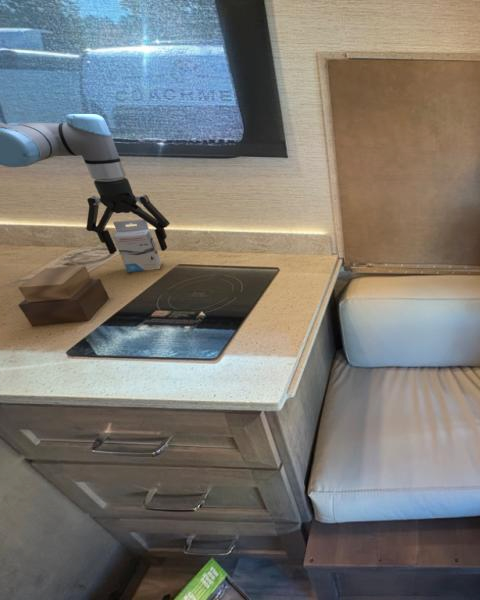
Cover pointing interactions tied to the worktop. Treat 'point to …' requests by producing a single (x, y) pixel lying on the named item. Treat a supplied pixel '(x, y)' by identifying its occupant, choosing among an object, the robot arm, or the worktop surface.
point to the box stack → (62, 296)
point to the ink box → (136, 246)
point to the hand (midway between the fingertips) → (139, 250)
